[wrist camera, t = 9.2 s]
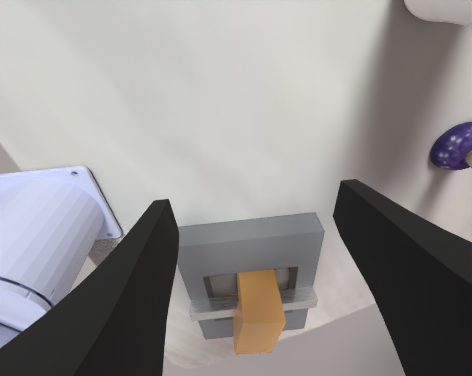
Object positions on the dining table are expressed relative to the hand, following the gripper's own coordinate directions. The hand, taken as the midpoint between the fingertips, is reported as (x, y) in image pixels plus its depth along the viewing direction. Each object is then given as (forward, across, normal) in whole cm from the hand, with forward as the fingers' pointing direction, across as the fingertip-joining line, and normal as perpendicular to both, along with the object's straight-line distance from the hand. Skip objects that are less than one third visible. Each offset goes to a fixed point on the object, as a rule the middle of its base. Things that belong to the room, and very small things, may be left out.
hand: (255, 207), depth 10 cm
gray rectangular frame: (+9, 0, +20) cm, 22 cm away
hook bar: (+7, 0, +20) cm, 21 cm away
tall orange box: (+8, 0, +20) cm, 21 cm away
